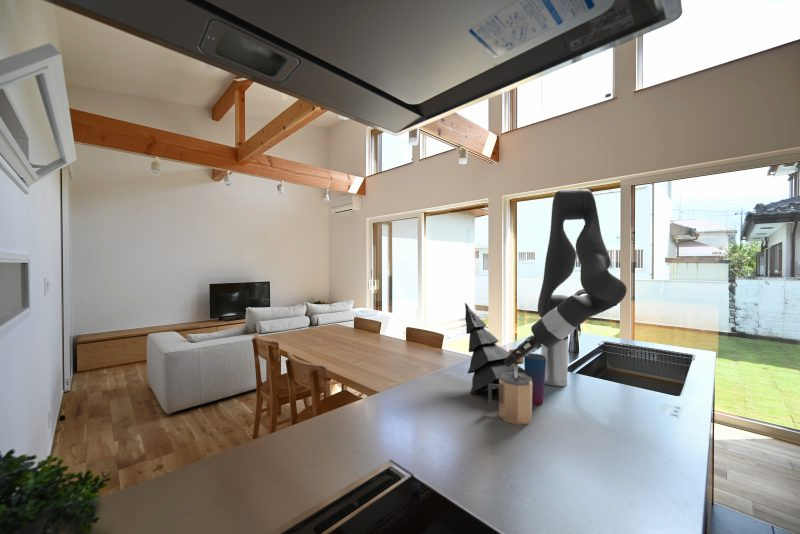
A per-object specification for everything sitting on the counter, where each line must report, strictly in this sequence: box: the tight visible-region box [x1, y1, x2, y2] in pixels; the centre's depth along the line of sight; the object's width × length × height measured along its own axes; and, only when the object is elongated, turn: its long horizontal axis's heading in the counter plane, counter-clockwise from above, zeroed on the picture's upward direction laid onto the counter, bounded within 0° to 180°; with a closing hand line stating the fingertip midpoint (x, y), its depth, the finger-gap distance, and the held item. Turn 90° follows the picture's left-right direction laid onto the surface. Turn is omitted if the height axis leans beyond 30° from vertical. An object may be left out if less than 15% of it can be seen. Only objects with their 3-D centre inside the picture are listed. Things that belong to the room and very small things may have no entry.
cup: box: [523, 352, 546, 406], centre depth 110 cm, size 7×7×15 cm
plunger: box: [508, 348, 524, 378], centre depth 98 cm, size 4×4×18 cm
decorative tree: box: [464, 302, 525, 398], centre depth 121 cm, size 15×15×35 cm
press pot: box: [487, 372, 533, 426], centre depth 98 cm, size 9×11×12 cm
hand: (511, 360), depth 99 cm, fingers open, 8 cm apart
